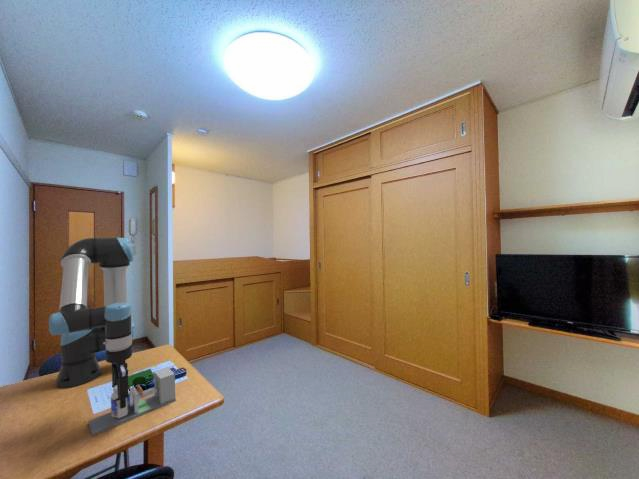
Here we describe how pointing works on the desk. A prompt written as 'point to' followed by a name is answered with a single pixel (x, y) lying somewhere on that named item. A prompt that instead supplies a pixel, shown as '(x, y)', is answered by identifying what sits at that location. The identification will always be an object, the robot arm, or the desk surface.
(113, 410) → the pill bottle
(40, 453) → the desk surface
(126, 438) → the desk surface
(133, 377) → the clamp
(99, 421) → the base
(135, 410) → the plunger
